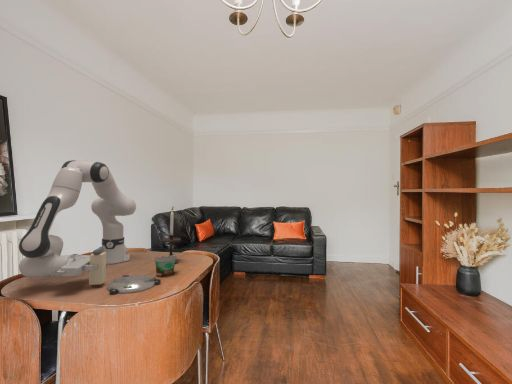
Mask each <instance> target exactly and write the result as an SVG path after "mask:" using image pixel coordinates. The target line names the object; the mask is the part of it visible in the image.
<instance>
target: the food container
mask: <svg viewBox="0 0 512 384" xmlns="http://www.w3.org/2000/svg"><path fill="white" fill-rule="evenodd" d="M172 254H173V255H163V256H161V257H158V256H157V257H156V256H155V257H154V260H153V261H154V262H155V274H156V275H155V276H156V277H158V278H164V277H167V278H168V277H171V276H173V275H174V274H175V265H176V264H175V259H176V260H178V259H177V254H176V253H173V252H172Z"/></svg>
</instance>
